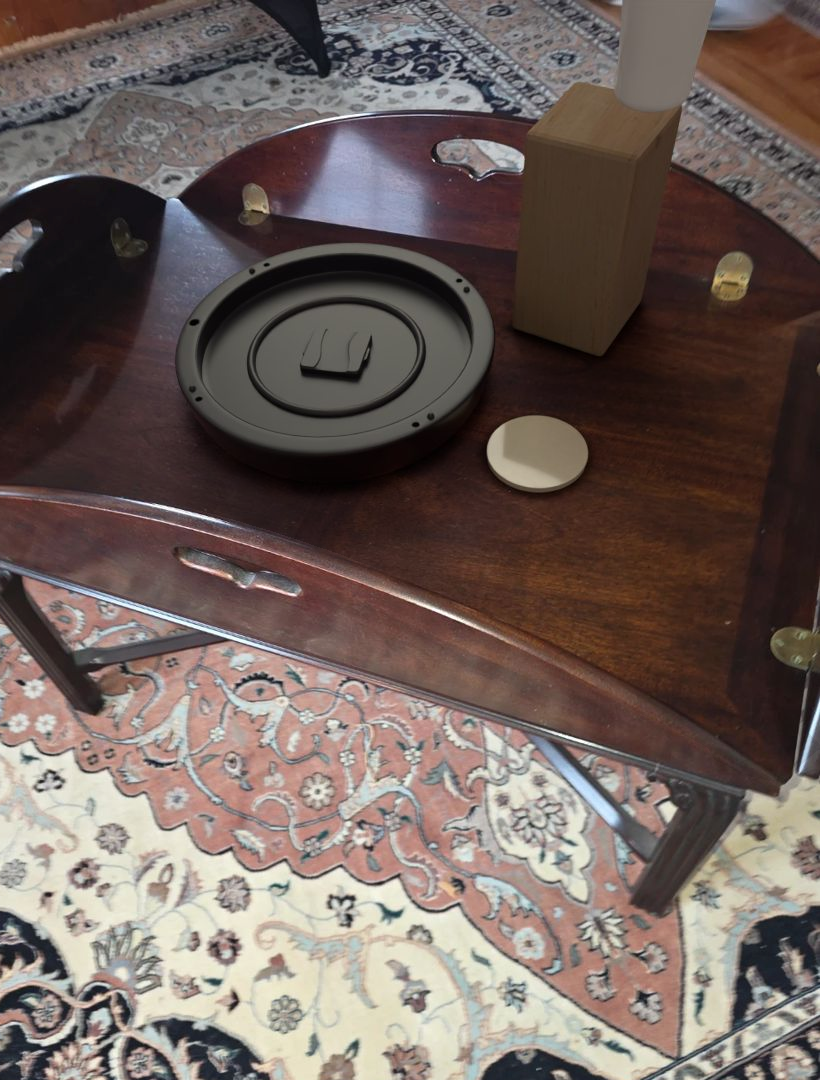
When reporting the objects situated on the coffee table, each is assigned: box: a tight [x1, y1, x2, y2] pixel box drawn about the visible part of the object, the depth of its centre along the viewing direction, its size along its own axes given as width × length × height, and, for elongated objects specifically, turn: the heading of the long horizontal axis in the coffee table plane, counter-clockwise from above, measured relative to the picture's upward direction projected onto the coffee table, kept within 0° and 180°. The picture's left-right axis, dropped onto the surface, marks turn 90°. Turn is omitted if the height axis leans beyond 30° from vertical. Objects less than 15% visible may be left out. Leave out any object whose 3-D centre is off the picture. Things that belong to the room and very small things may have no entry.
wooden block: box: [511, 81, 683, 357], centre depth 81 cm, size 10×10×20 cm
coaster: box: [485, 415, 589, 493], centre depth 79 cm, size 9×9×1 cm
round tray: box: [174, 242, 496, 484], centre depth 84 cm, size 30×6×30 cm
